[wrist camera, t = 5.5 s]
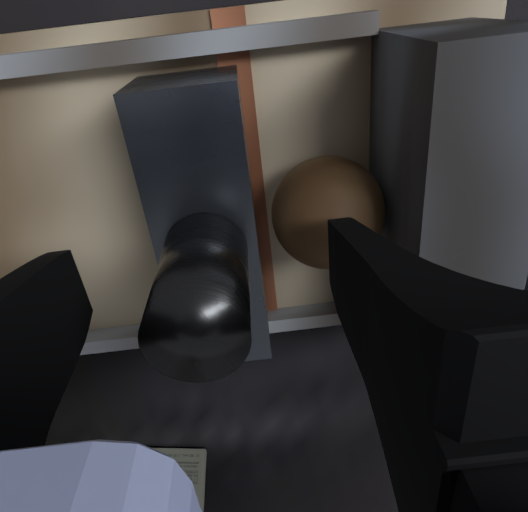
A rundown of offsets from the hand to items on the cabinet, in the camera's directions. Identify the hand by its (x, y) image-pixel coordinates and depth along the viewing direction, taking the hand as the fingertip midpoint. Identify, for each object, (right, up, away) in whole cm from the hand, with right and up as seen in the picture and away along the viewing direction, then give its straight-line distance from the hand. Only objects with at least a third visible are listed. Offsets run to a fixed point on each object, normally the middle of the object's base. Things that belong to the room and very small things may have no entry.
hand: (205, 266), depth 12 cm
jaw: (0, +2, +3) cm, 4 cm away
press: (0, +3, +5) cm, 6 cm away
